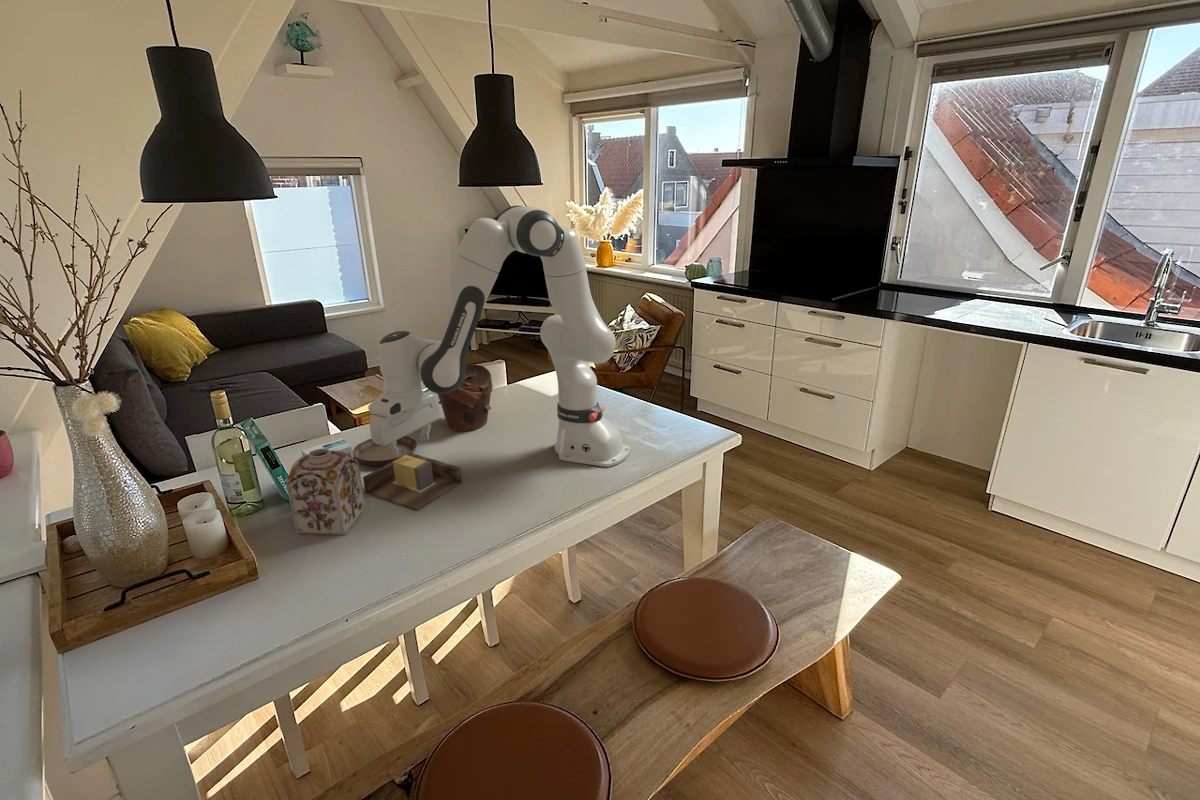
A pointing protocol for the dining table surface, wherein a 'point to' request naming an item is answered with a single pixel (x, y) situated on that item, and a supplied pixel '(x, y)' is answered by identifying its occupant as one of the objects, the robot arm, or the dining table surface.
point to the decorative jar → (325, 492)
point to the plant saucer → (383, 451)
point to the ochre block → (413, 472)
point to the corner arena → (388, 489)
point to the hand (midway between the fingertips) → (411, 447)
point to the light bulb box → (332, 447)
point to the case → (468, 400)
